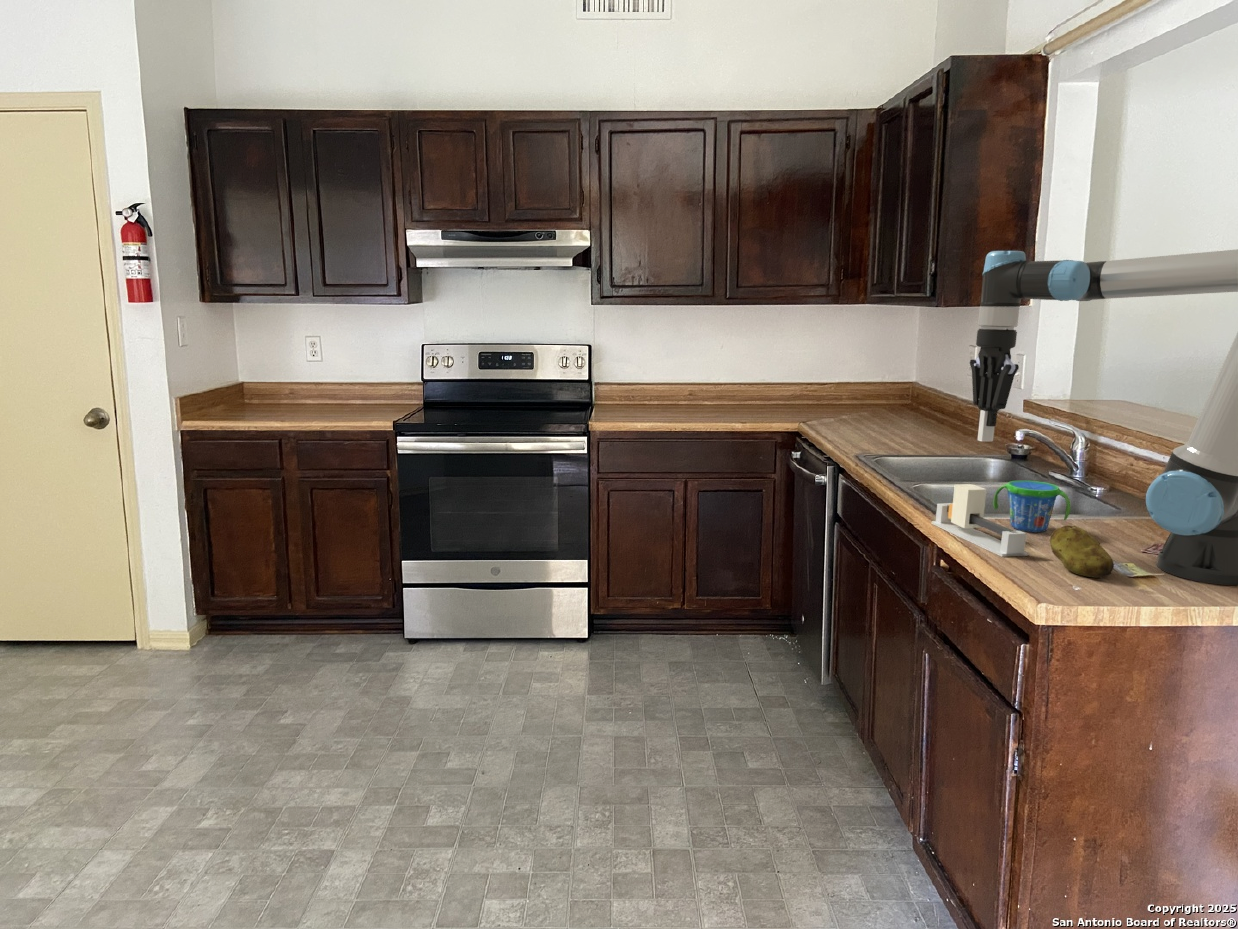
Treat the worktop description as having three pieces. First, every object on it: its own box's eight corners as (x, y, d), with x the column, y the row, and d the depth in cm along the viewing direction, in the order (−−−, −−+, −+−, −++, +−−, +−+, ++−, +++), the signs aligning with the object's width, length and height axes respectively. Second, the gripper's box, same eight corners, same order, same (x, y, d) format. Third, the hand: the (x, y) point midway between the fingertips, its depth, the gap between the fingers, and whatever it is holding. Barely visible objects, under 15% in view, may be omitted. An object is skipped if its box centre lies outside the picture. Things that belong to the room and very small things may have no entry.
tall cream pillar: (982, 527, 186) (986, 489, 185) (964, 528, 185) (968, 489, 184) (968, 521, 191) (972, 484, 190) (950, 522, 190) (954, 484, 189)
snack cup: (984, 526, 195) (989, 482, 193) (1001, 518, 203) (1005, 476, 201) (1057, 540, 185) (1063, 494, 183) (1072, 531, 192) (1078, 487, 190)
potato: (1070, 581, 159) (1076, 539, 157) (1040, 559, 171) (1045, 521, 170) (1116, 583, 158) (1123, 541, 157) (1083, 561, 171) (1088, 522, 169)
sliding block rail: (1027, 555, 174) (1031, 528, 173) (1001, 556, 172) (1005, 530, 171) (954, 522, 198) (957, 499, 196) (931, 523, 196) (933, 499, 195)
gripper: (1034, 329, 171) (1021, 446, 176) (993, 326, 184) (981, 435, 188) (1001, 329, 170) (988, 446, 174) (962, 326, 182) (951, 436, 187)
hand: (985, 440), depth 181 cm, fingers closed
